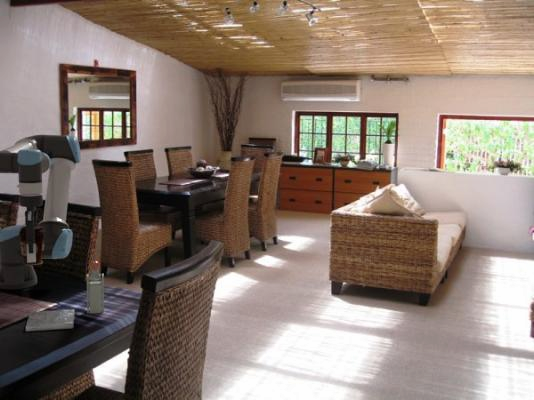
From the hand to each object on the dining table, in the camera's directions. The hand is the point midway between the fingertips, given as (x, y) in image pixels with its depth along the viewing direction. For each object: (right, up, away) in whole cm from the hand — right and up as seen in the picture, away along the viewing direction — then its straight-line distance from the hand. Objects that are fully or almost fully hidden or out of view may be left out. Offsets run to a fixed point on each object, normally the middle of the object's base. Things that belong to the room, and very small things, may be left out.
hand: (32, 258), depth 203 cm
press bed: (+11, -19, -13) cm, 26 cm away
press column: (+22, -18, -1) cm, 29 cm away
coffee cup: (0, -2, 0) cm, 2 cm away
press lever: (+25, -5, -9) cm, 27 cm away
